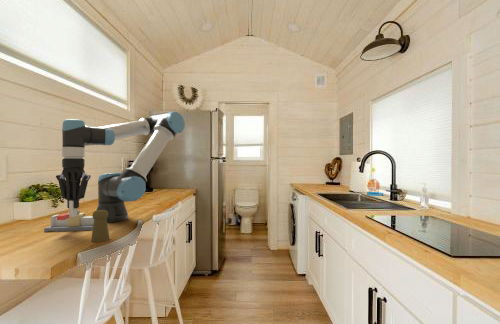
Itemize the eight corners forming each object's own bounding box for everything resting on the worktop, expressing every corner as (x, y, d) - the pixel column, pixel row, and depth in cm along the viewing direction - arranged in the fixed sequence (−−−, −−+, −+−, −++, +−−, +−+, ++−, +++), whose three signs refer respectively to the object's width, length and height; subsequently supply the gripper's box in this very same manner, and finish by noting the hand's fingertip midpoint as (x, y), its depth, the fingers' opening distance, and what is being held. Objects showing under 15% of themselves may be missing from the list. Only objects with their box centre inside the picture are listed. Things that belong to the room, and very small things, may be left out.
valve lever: (81, 213, 117) (81, 209, 117) (64, 219, 103) (64, 215, 103) (74, 213, 117) (74, 209, 117) (56, 220, 103) (56, 216, 103)
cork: (96, 243, 95) (96, 212, 95) (87, 240, 98) (87, 210, 98) (112, 238, 100) (113, 209, 100) (103, 236, 103) (104, 208, 103)
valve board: (105, 224, 122) (105, 211, 122) (96, 230, 112) (96, 215, 112) (57, 226, 119) (57, 212, 119) (44, 231, 109) (44, 217, 109)
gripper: (95, 158, 110) (94, 214, 110) (64, 158, 111) (64, 214, 111) (83, 157, 103) (82, 218, 103) (50, 157, 103) (50, 218, 103)
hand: (73, 216), depth 107 cm, fingers closed
